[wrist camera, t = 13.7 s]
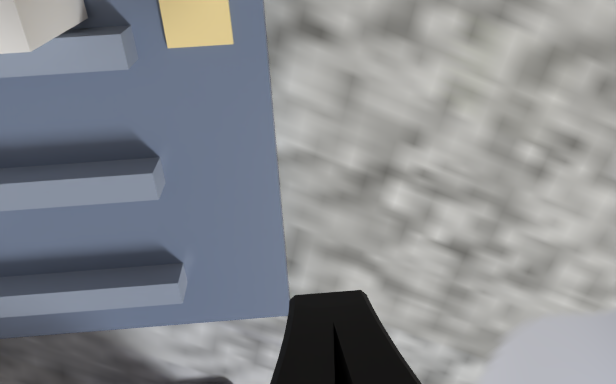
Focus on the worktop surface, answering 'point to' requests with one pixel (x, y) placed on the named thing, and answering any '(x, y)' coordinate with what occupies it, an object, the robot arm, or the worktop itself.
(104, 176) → the switch board
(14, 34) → the tab
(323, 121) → the worktop surface
